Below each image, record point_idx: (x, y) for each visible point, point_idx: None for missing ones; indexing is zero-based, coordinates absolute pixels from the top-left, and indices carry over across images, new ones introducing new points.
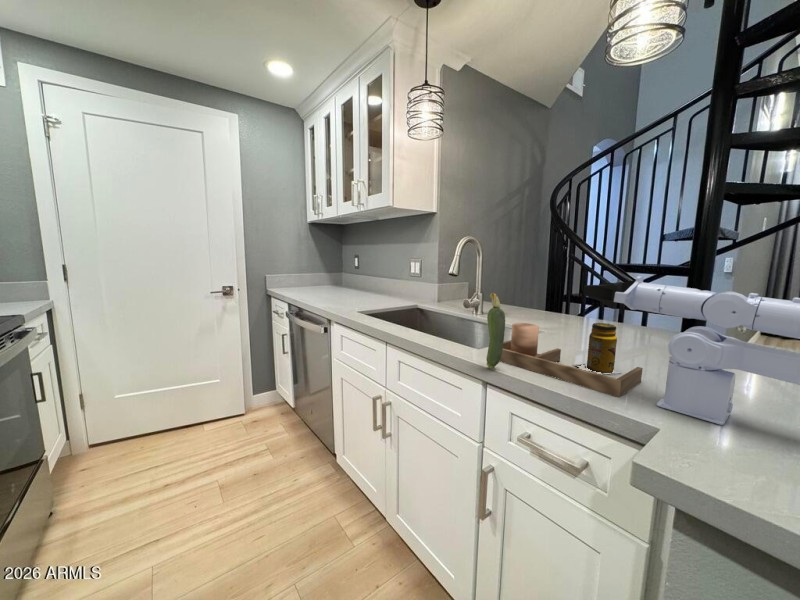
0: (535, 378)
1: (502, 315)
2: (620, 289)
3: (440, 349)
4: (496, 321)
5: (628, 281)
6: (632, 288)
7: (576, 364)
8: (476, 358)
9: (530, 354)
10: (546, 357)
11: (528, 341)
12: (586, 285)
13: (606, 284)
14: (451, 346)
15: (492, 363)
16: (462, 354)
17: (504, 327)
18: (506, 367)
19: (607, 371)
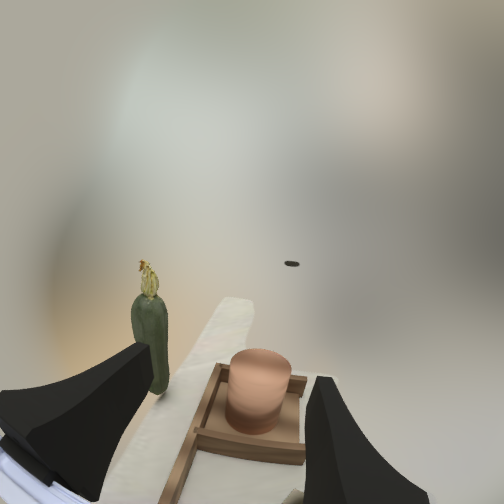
0: (149, 453)
1: (139, 315)
2: (36, 458)
3: (206, 330)
4: (131, 320)
5: (345, 491)
6: (3, 496)
7: (303, 493)
8: (197, 369)
9: (236, 421)
10: (240, 447)
11: (234, 398)
12: (132, 345)
13: (320, 403)
14: (232, 334)
15: None
16: (203, 352)
17: (148, 341)
18: (180, 409)
19: None
